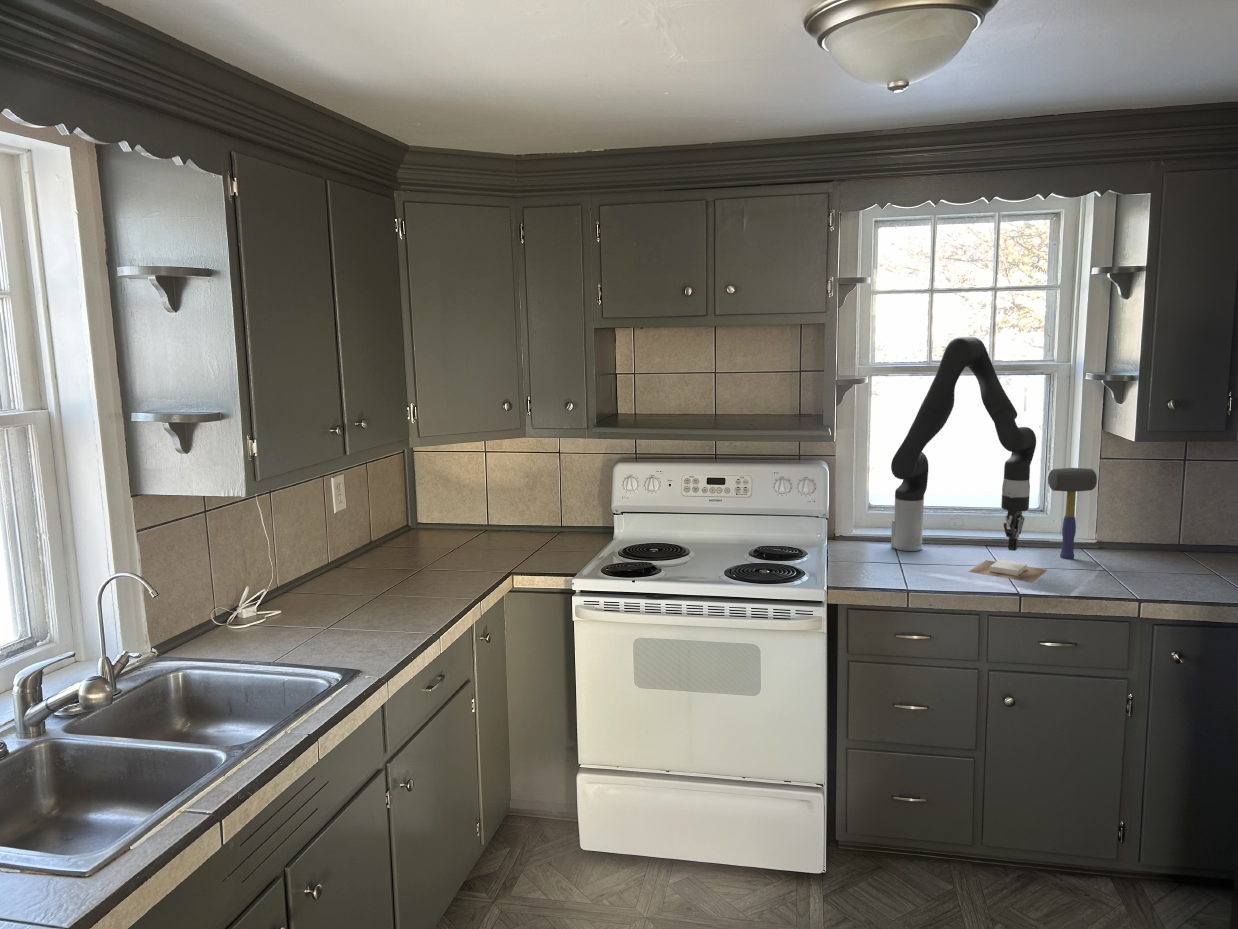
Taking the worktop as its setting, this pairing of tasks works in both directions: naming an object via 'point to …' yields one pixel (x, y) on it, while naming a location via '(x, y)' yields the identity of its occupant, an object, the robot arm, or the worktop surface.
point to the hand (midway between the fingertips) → (1012, 549)
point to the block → (1008, 567)
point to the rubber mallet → (1071, 500)
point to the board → (1027, 575)
